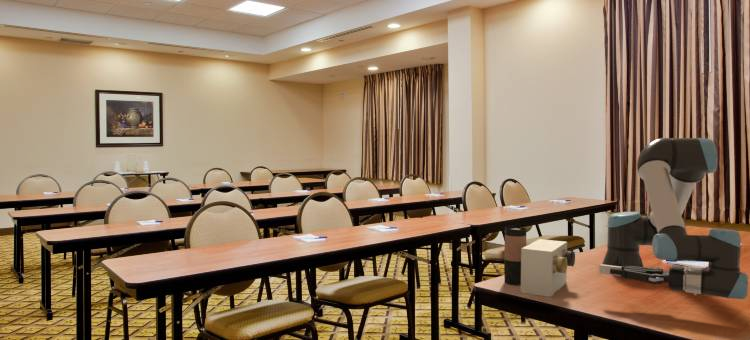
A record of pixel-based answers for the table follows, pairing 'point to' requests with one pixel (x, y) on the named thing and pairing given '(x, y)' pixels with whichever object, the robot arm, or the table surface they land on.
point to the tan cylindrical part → (569, 257)
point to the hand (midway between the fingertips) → (599, 268)
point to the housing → (541, 267)
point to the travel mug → (513, 254)
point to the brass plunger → (560, 264)
